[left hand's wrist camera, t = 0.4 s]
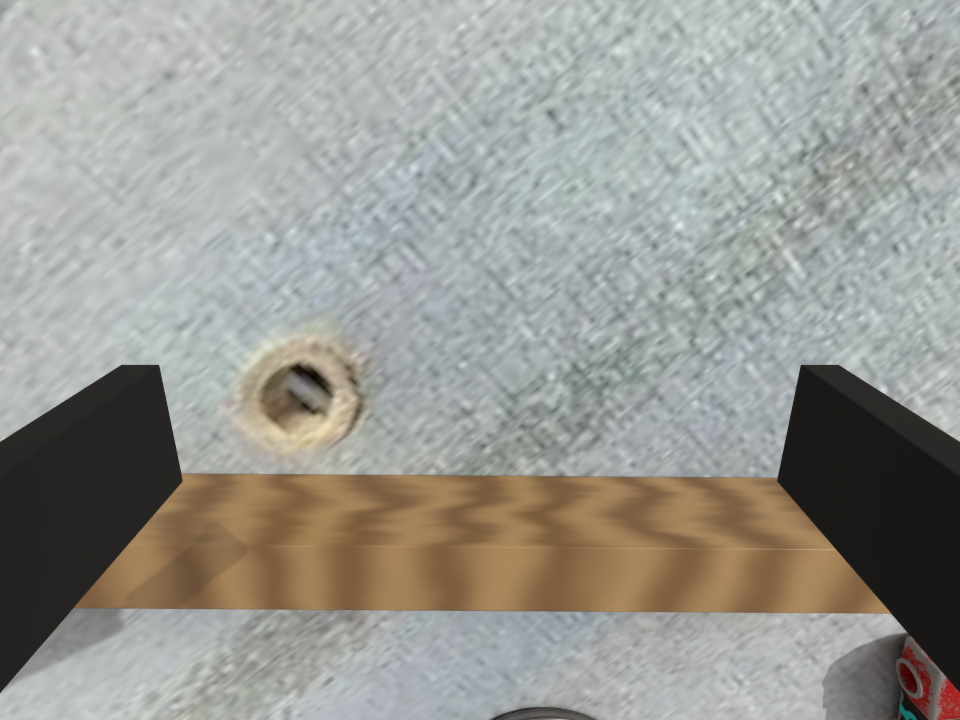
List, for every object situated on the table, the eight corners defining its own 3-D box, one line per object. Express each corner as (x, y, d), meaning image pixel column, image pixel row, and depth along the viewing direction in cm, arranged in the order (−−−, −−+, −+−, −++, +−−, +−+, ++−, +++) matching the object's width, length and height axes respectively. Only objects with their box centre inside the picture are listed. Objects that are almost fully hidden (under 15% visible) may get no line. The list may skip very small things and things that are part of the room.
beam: (916, 478, 44) (1008, 550, 36) (899, 534, 45) (983, 614, 38) (-151, 470, 43) (-284, 541, 36) (-126, 527, 45) (-248, 606, 38)
